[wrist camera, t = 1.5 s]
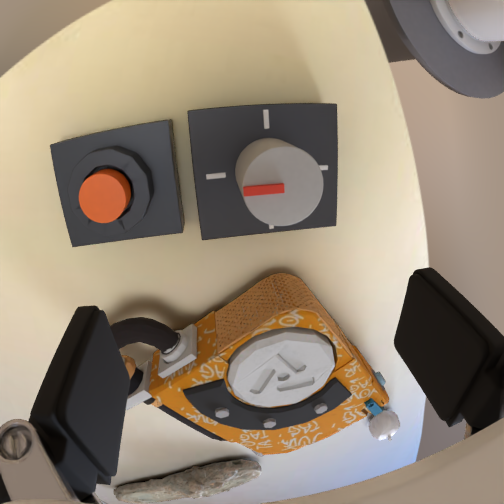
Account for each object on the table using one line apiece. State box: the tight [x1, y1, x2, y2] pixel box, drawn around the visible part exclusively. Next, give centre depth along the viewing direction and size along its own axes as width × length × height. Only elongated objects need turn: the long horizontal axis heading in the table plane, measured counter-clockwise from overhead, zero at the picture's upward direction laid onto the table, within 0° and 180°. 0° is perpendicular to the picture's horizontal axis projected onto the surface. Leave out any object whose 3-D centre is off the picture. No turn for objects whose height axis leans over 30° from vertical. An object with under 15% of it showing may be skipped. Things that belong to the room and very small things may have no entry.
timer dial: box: [235, 138, 323, 226], centre depth 21 cm, size 5×5×5 cm
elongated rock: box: [114, 459, 261, 504], centre depth 46 cm, size 35×5×10 cm
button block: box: [50, 119, 184, 247], centre depth 23 cm, size 10×9×4 cm
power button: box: [79, 169, 131, 223], centre depth 21 cm, size 4×4×2 cm
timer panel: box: [188, 103, 338, 240], centre depth 25 cm, size 11×10×3 cm
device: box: [110, 273, 389, 456], centre depth 31 cm, size 23×8×30 cm
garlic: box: [369, 410, 400, 441], centre depth 44 cm, size 6×5×5 cm
